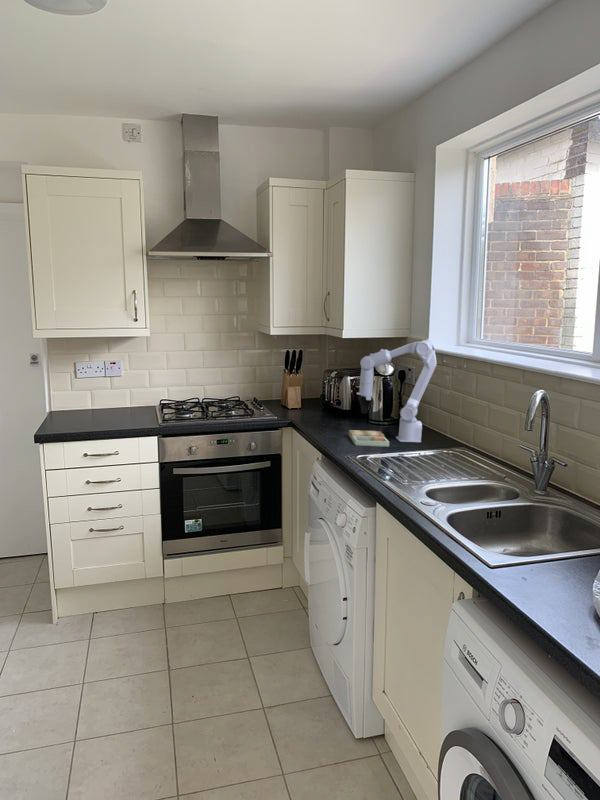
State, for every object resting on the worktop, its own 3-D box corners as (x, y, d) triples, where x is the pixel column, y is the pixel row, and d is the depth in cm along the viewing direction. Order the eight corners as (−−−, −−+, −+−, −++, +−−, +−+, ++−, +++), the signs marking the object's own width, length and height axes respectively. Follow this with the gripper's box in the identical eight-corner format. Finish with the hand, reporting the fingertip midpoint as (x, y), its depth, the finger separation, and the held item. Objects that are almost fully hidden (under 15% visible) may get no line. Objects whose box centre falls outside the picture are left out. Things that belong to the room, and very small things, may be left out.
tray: (384, 441, 260) (384, 436, 260) (389, 446, 252) (389, 441, 251) (351, 440, 259) (352, 435, 259) (355, 445, 250) (356, 440, 250)
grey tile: (368, 439, 251) (368, 444, 251) (366, 437, 255) (366, 441, 255) (359, 439, 251) (358, 443, 251) (357, 436, 255) (357, 441, 255)
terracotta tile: (381, 440, 259) (381, 436, 258) (383, 443, 255) (383, 438, 254) (372, 440, 258) (372, 436, 258) (374, 442, 254) (374, 438, 254)
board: (379, 436, 269) (380, 431, 268) (383, 441, 261) (384, 435, 260) (348, 435, 267) (349, 430, 267) (351, 439, 260) (352, 434, 259)
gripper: (354, 380, 275) (352, 409, 277) (360, 385, 261) (358, 416, 263) (369, 381, 275) (367, 410, 278) (376, 386, 261) (374, 417, 264)
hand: (364, 413), depth 270 cm, fingers closed
